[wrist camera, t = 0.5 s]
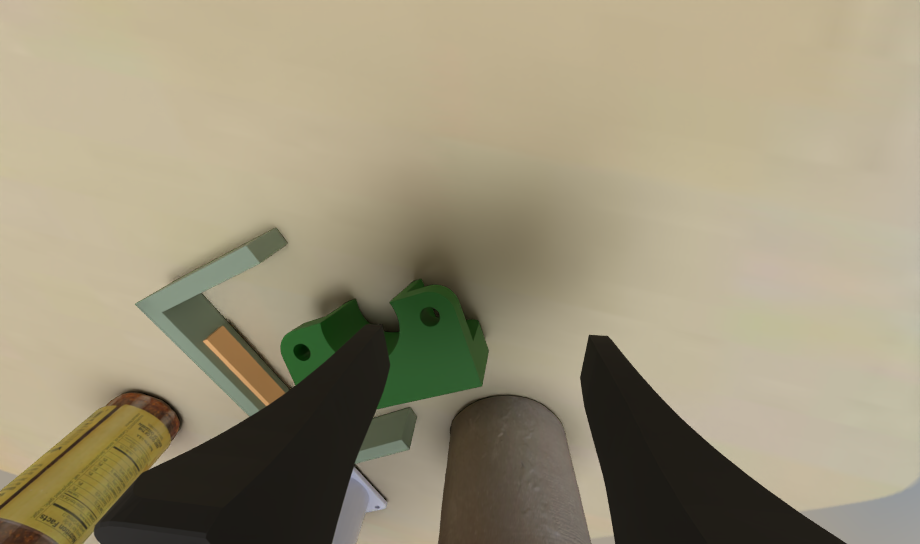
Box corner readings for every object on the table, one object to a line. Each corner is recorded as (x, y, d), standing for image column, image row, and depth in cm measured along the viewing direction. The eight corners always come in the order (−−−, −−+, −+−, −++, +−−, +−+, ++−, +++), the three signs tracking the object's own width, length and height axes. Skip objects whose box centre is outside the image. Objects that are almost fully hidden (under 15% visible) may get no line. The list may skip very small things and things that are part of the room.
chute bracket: (325, 443, 31) (310, 475, 29) (173, 281, 24) (134, 304, 22) (416, 417, 29) (409, 449, 26) (275, 227, 22) (246, 245, 19)
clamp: (446, 261, 27) (477, 273, 18) (470, 330, 28) (510, 373, 19) (293, 318, 25) (243, 363, 16) (325, 390, 26) (295, 469, 17)
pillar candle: (446, 464, 31) (418, 736, 18) (453, 386, 27) (423, 673, 14) (553, 476, 31) (604, 760, 18) (578, 399, 27) (671, 704, 13)
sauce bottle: (129, 430, 33) (-289, 817, 15) (106, 382, 30) (-444, 791, 12) (196, 440, 33) (-148, 843, 15) (179, 393, 30) (-270, 822, 12)
